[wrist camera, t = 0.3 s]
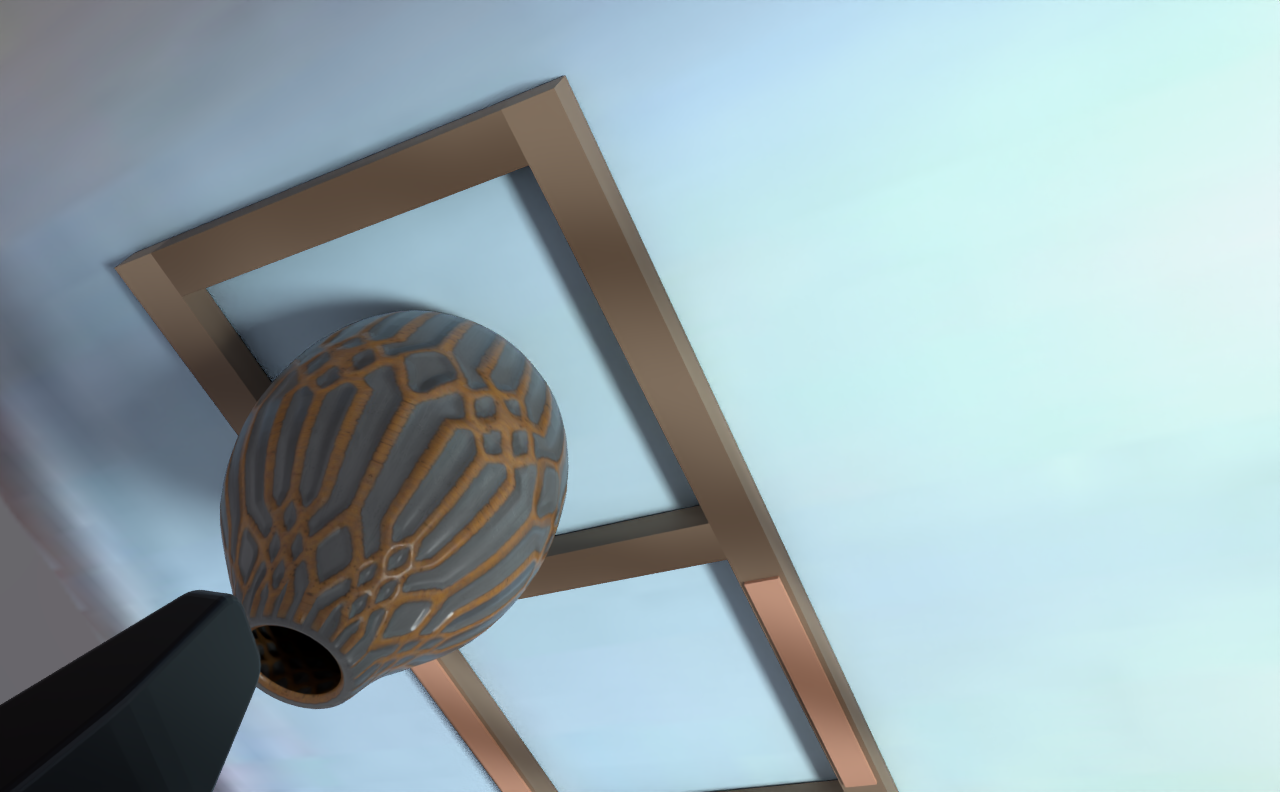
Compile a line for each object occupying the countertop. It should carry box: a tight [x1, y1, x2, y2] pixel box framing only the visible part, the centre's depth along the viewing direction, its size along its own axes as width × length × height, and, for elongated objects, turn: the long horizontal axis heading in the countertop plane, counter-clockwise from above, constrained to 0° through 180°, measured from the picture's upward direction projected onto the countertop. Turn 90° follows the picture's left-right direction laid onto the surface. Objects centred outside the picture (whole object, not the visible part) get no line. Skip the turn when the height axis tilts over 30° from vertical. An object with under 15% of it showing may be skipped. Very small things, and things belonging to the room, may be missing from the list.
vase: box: [220, 310, 568, 709], centre depth 22 cm, size 7×7×9 cm
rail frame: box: [115, 76, 898, 792], centre depth 27 cm, size 23×12×1 cm, turn 24°
